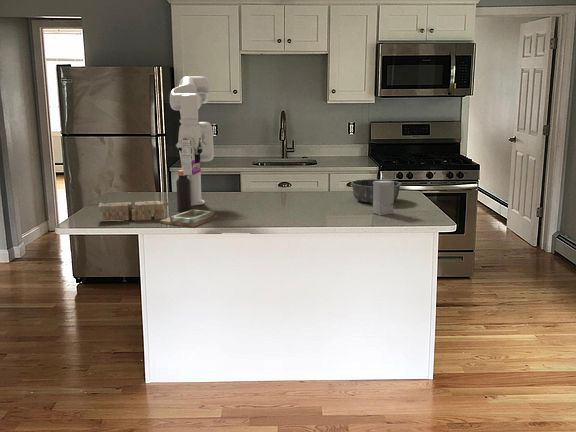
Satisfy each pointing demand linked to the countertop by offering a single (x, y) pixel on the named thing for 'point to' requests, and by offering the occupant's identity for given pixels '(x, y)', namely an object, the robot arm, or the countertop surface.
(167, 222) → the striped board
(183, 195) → the bottle
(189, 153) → the candy bar box
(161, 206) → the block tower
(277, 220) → the countertop surface
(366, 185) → the bundt pan
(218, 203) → the countertop surface
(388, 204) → the skincare box
